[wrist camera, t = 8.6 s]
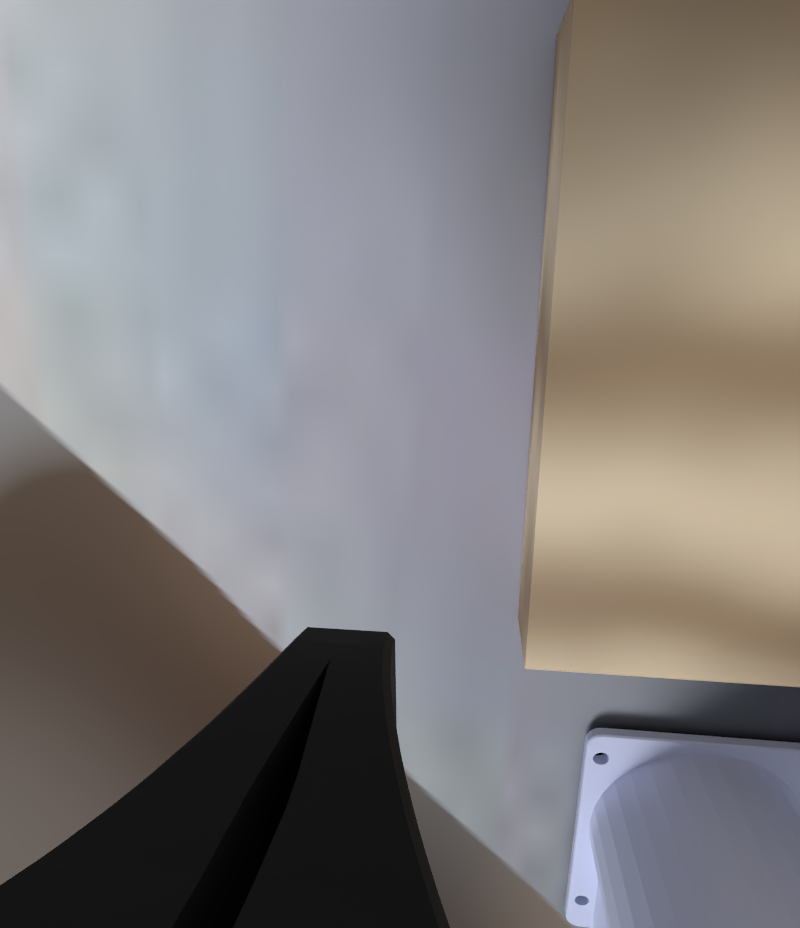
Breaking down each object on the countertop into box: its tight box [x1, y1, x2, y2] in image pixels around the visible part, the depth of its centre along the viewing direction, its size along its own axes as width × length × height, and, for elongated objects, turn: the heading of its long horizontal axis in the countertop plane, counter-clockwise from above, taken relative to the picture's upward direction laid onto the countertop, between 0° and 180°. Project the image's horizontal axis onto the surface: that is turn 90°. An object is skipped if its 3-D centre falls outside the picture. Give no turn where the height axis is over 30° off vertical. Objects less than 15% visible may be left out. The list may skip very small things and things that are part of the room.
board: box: [518, 0, 800, 687], centre depth 14 cm, size 16×12×2 cm
